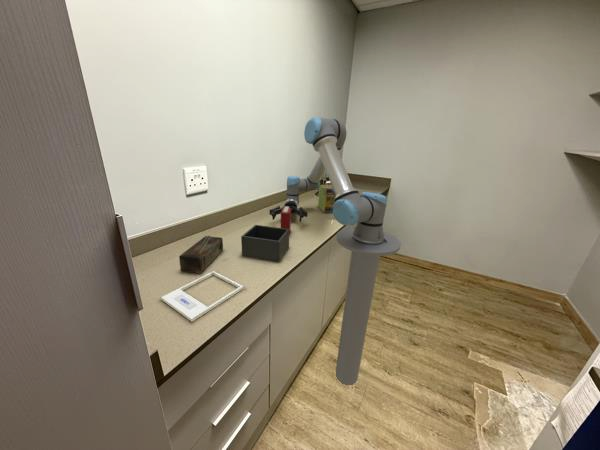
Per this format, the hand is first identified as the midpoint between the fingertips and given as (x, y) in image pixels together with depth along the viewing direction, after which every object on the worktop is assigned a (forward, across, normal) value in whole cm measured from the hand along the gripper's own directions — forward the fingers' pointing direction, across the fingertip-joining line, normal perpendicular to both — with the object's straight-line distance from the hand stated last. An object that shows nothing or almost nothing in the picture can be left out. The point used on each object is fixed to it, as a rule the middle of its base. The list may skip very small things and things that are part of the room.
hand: (286, 218), depth 121 cm
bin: (+24, +6, -7) cm, 26 cm away
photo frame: (+54, +18, -7) cm, 58 cm away
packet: (+4, 0, -7) cm, 8 cm away
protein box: (-43, -23, -7) cm, 49 cm away
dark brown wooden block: (+34, +28, -7) cm, 45 cm away
